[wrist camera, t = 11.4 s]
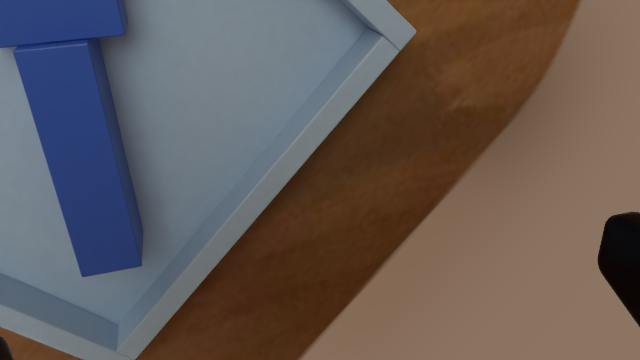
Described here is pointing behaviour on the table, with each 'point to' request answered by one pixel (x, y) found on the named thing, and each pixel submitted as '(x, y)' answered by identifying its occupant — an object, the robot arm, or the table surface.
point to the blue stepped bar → (78, 122)
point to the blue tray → (182, 153)
